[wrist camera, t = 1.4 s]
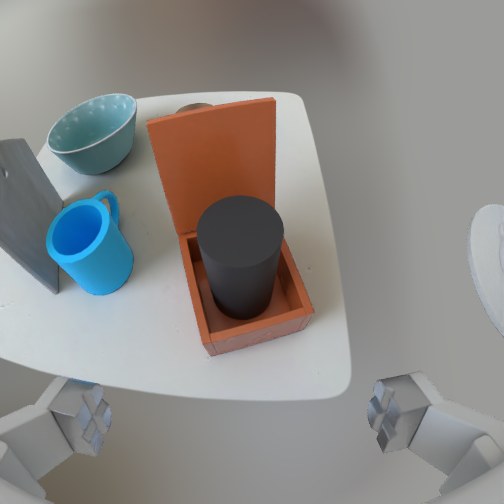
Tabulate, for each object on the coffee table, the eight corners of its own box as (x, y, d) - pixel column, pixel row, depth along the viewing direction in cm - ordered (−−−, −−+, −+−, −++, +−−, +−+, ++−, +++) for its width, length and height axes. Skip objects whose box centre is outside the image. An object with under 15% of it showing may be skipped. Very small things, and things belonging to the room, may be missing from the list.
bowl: (107, 122, 50) (95, 89, 43) (165, 137, 47) (157, 97, 40) (50, 176, 43) (31, 142, 36) (103, 202, 40) (82, 162, 32)
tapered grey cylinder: (261, 259, 34) (267, 187, 24) (280, 310, 31) (296, 254, 21) (206, 273, 33) (189, 205, 23) (221, 327, 30) (206, 277, 20)
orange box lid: (276, 100, 22) (259, 85, 24) (146, 124, 20) (146, 106, 23) (274, 211, 31) (262, 187, 34) (177, 234, 29) (172, 208, 32)
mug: (123, 300, 32) (93, 267, 25) (69, 290, 33) (35, 258, 26) (149, 216, 38) (132, 173, 31) (99, 213, 39) (76, 174, 32)
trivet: (213, 104, 52) (213, 99, 51) (222, 126, 48) (222, 121, 47) (172, 112, 51) (171, 108, 50) (176, 135, 47) (176, 131, 46)
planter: (26, 215, 39) (-33, 130, 22) (63, 200, 40) (8, 104, 23) (16, 305, 31) (-78, 228, 14) (59, 293, 32) (-38, 200, 16)
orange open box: (303, 329, 31) (314, 312, 26) (210, 356, 30) (202, 344, 24) (269, 240, 37) (273, 211, 32) (187, 261, 35) (177, 234, 30)
